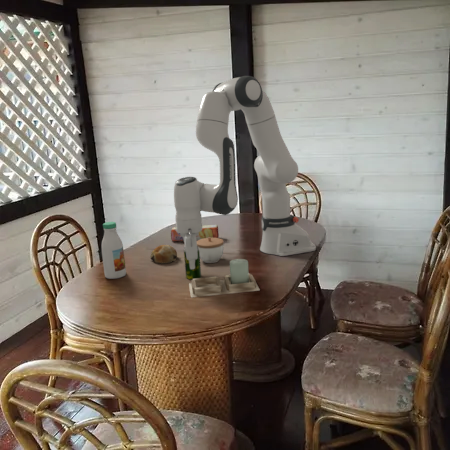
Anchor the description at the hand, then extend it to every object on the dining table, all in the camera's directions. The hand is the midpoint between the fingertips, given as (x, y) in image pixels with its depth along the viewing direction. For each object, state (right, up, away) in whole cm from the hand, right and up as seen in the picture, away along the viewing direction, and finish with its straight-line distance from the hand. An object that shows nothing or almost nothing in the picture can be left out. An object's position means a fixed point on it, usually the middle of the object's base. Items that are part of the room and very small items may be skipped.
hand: (191, 264), depth 164 cm
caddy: (+11, -8, -9) cm, 16 cm away
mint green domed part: (+16, -6, -9) cm, 20 cm away
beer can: (+1, -6, +1) cm, 6 cm away
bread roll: (-13, -1, +24) cm, 28 cm away
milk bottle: (-29, -5, +10) cm, 31 cm away
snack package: (-2, +6, +49) cm, 50 cm away
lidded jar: (+6, 0, +21) cm, 21 cm away
